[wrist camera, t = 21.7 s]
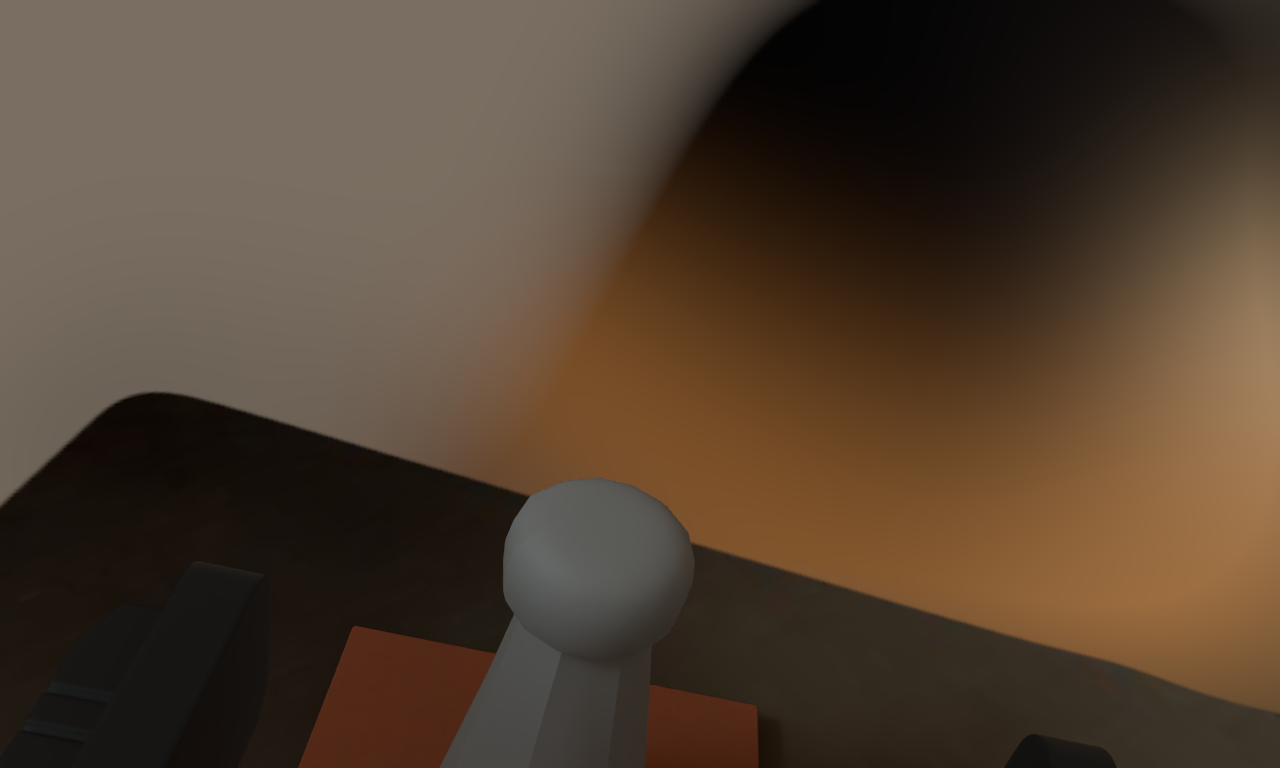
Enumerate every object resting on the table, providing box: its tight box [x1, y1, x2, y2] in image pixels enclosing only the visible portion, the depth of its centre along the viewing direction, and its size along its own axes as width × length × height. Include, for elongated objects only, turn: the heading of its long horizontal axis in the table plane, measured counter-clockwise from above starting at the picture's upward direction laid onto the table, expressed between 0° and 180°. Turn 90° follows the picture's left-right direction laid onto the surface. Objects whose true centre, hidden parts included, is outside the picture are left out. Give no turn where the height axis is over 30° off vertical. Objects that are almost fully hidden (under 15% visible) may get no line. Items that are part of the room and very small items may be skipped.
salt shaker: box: [440, 478, 695, 768], centre depth 28 cm, size 6×6×13 cm
